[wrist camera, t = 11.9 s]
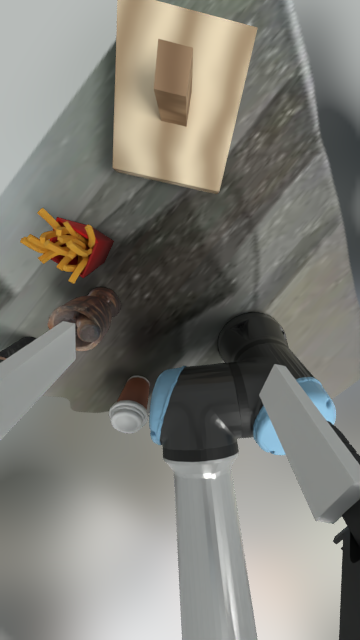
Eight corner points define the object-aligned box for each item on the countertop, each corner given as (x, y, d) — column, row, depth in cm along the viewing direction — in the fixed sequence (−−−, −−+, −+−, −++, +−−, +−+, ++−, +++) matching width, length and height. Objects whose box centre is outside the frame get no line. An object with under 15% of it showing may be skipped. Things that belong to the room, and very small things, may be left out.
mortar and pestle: (108, 265, 40) (41, 294, 22) (140, 293, 42) (105, 340, 24) (79, 302, 43) (2, 354, 25) (110, 326, 46) (60, 389, 28)
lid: (251, 44, 22) (282, -46, 15) (217, 194, 29) (227, 182, 21) (123, 10, 22) (91, -101, 14) (117, 172, 28) (92, 151, 21)
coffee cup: (161, 386, 53) (154, 426, 43) (139, 400, 56) (127, 441, 45) (138, 365, 51) (124, 403, 40) (115, 382, 53) (97, 421, 43)
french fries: (106, 268, 40) (65, 288, 26) (69, 246, 38) (4, 254, 25) (125, 229, 37) (88, 229, 23) (84, 202, 35) (19, 185, 21)
